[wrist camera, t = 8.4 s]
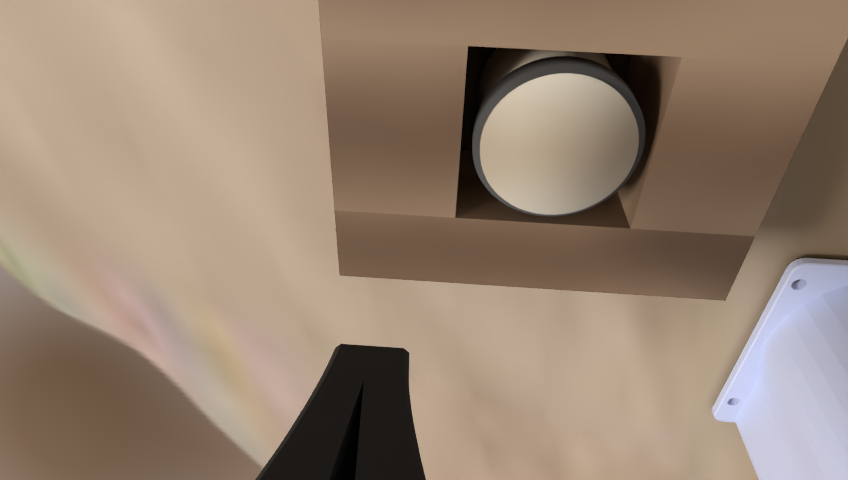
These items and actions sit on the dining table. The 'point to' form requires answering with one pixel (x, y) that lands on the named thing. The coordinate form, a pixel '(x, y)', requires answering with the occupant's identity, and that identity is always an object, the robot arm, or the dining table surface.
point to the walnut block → (626, 209)
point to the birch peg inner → (554, 130)
